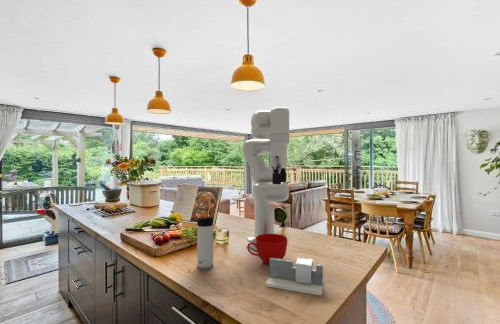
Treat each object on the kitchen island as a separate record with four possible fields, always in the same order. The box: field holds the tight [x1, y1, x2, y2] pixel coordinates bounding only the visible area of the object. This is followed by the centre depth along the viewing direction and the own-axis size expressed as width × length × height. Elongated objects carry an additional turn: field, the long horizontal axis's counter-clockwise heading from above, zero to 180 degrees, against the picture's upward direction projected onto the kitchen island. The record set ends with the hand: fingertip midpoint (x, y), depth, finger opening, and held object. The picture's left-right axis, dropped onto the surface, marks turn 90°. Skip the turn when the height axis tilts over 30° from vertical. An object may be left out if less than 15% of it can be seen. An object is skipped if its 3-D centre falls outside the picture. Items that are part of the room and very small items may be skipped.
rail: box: [269, 258, 324, 287], centre depth 87 cm, size 18×1×6 cm, turn 71°
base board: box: [265, 277, 324, 296], centre depth 87 cm, size 18×10×1 cm, turn 71°
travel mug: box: [196, 216, 214, 271], centre depth 100 cm, size 6×7×20 cm
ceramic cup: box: [246, 233, 288, 266], centre depth 104 cm, size 13×17×10 cm
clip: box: [295, 257, 314, 284], centre depth 86 cm, size 5×5×6 cm
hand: (279, 183), depth 99 cm, fingers open, 9 cm apart
